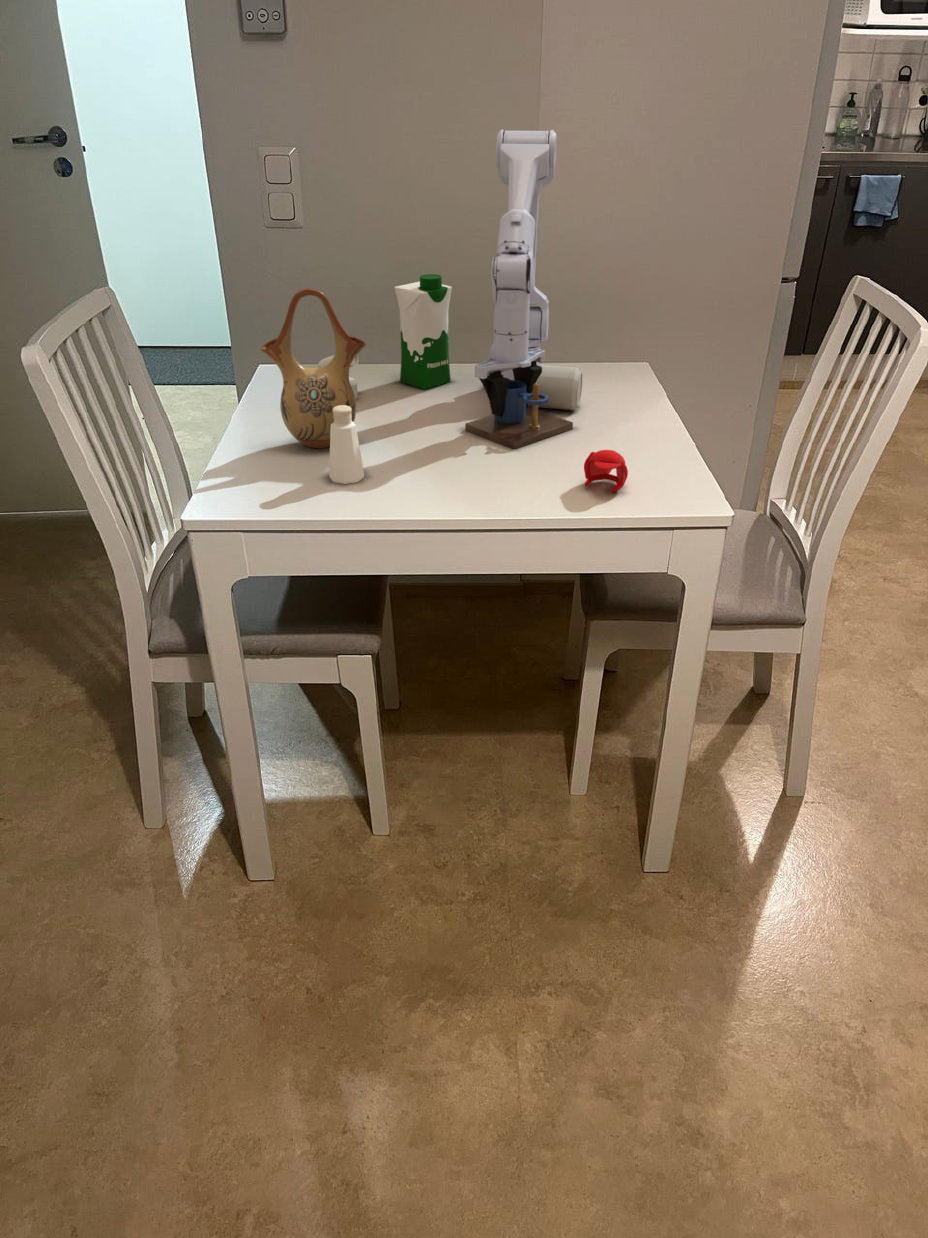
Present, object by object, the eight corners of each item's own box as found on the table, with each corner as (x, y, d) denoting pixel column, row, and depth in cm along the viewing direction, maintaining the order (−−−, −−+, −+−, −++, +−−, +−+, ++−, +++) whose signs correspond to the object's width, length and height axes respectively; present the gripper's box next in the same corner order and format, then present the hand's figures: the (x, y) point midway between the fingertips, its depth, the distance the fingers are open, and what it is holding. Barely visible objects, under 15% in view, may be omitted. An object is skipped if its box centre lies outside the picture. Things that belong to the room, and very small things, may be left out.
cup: (487, 418, 164) (488, 384, 161) (509, 411, 167) (510, 377, 164) (532, 435, 157) (533, 399, 154) (554, 427, 160) (556, 392, 157)
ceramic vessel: (369, 431, 162) (360, 279, 149) (373, 451, 155) (364, 292, 142) (271, 437, 160) (254, 283, 147) (271, 457, 153) (252, 296, 140)
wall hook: (338, 355, 168) (297, 346, 173) (341, 408, 173) (301, 397, 178) (370, 344, 173) (329, 335, 178) (372, 395, 178) (333, 385, 183)
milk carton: (424, 391, 180) (421, 282, 170) (392, 381, 186) (388, 274, 175) (457, 381, 186) (456, 274, 175) (426, 371, 191) (423, 267, 181)
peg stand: (465, 429, 163) (465, 378, 158) (523, 411, 171) (524, 362, 166) (514, 449, 155) (515, 396, 151) (572, 428, 163) (575, 377, 159)
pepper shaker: (331, 470, 148) (326, 401, 142) (366, 470, 148) (362, 401, 142) (326, 484, 144) (320, 413, 138) (362, 484, 143) (358, 413, 138)
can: (584, 380, 174) (519, 375, 177) (581, 359, 167) (514, 355, 170) (578, 417, 173) (513, 412, 175) (575, 398, 165) (507, 393, 168)
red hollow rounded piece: (579, 477, 145) (581, 440, 142) (617, 476, 146) (621, 439, 143) (588, 499, 139) (591, 460, 135) (629, 498, 139) (632, 459, 136)
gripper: (496, 343, 150) (494, 426, 157) (559, 327, 158) (555, 407, 165) (466, 334, 154) (466, 416, 161) (529, 319, 162) (526, 397, 169)
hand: (509, 410), depth 163 cm, fingers closed on cup, 5 cm apart
